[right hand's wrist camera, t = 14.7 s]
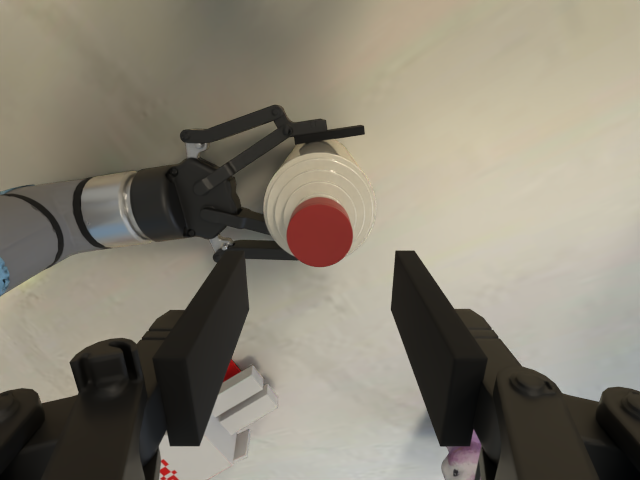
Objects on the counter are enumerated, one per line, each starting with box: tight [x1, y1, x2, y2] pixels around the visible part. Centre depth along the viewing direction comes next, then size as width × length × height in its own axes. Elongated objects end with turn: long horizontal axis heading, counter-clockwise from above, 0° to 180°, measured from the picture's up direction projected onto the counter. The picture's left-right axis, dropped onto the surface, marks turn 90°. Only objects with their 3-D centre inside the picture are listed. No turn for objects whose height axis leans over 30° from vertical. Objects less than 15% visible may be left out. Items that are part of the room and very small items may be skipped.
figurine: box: [441, 430, 481, 480], centre depth 46 cm, size 9×10×15 cm
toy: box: [159, 360, 278, 480], centre depth 48 cm, size 12×13×30 cm
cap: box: [286, 197, 353, 267], centre depth 20 cm, size 4×4×2 cm
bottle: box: [263, 139, 376, 256], centre depth 30 cm, size 8×8×22 cm
